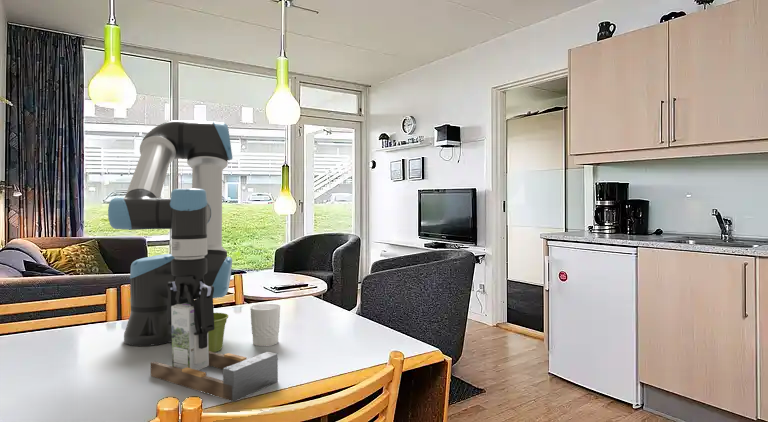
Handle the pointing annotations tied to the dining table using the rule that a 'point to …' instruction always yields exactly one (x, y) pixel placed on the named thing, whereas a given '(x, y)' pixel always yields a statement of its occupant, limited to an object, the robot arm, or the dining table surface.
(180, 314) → the syrup box
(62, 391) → the dining table surface
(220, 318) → the plant pot
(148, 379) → the dining table surface
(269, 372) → the connector block
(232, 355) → the brown parallel rails
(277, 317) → the white cup
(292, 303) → the dining table surface
